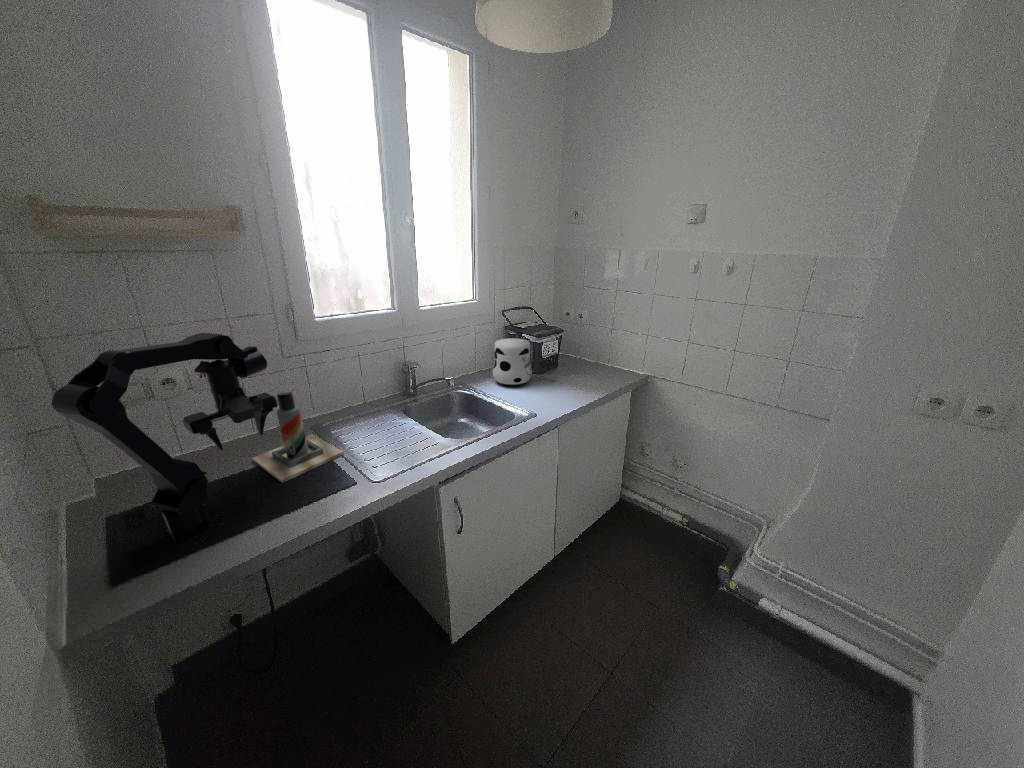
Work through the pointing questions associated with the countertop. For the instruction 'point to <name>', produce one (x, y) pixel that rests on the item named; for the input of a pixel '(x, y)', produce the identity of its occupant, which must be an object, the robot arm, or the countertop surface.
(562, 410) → the countertop surface
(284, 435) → the lotion bottle
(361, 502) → the countertop surface
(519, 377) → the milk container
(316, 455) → the port board
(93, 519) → the countertop surface
